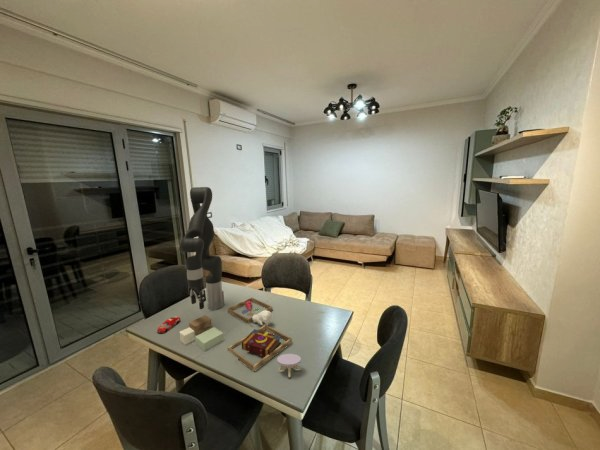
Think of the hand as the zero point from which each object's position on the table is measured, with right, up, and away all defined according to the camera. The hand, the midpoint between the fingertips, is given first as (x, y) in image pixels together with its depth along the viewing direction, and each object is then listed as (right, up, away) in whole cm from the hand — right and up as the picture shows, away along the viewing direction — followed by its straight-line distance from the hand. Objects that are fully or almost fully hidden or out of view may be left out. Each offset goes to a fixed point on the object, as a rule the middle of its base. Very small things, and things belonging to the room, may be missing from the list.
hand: (197, 305), depth 127 cm
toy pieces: (+23, -11, +22) cm, 34 cm away
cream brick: (-2, -16, -7) cm, 17 cm away
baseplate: (+9, -16, -9) cm, 20 cm away
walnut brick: (+1, -14, +3) cm, 14 cm away
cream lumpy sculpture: (+32, -13, +8) cm, 36 cm away
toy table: (+49, -19, -25) cm, 58 cm away
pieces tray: (+23, -11, +21) cm, 33 cm away
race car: (-18, -14, +6) cm, 24 cm away
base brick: (+9, -15, -9) cm, 20 cm away
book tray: (+35, -16, -11) cm, 40 cm away
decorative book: (+35, -16, -11) cm, 40 cm away
